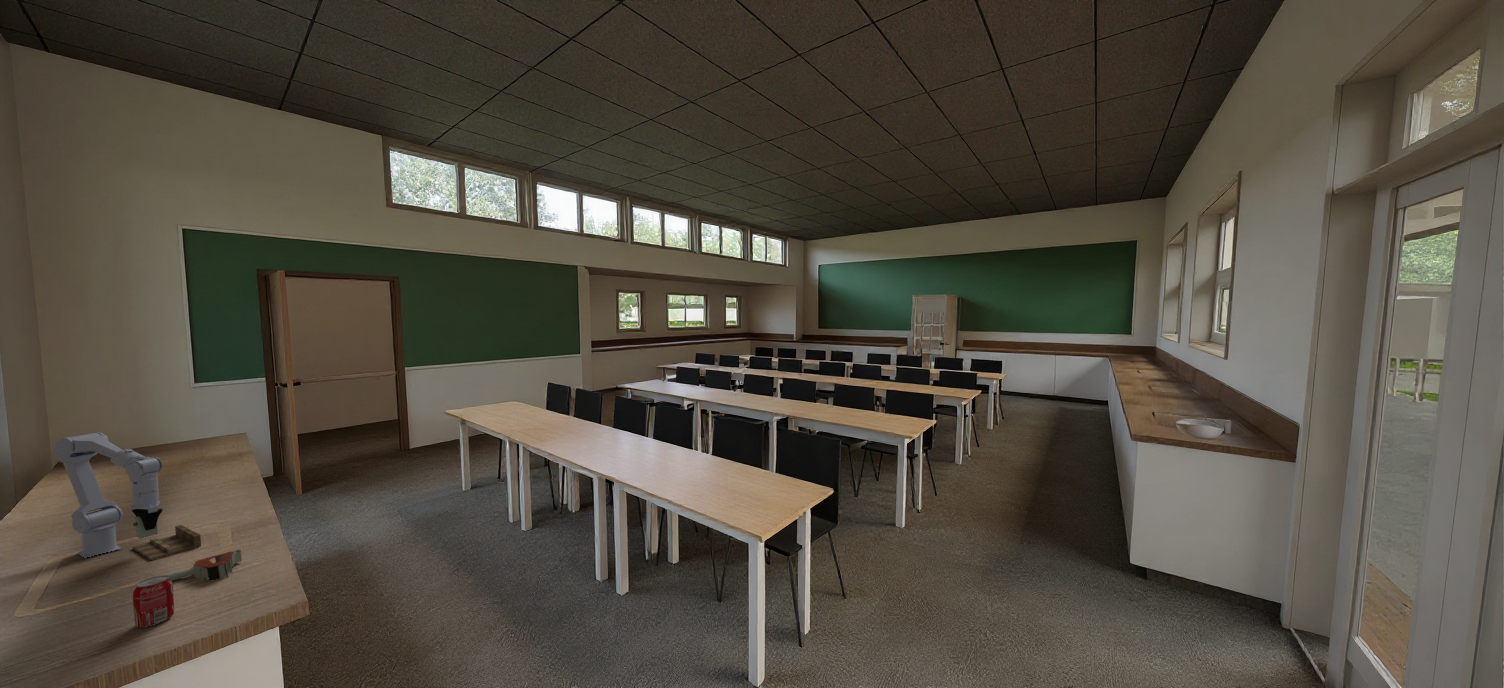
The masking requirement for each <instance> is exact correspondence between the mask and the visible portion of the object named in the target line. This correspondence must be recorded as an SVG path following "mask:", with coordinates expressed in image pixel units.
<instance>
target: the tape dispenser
mask: <svg viewBox="0 0 1504 688" xmlns="http://www.w3.org/2000/svg"><path fill="white" fill-rule="evenodd" d="M212 559H215V563H214V562H212V561H211V560H212ZM242 559H243V558H242V551H241V549H236V550H233V551H227V552H224V553H221V554H216V555H212V556H209V557H206V558H203V559H198V560H196V561H195V562H194V563H193V566H191V567H190V568H186V569H182V570H178V571H174V572H173V571H172V572H169V573H165V574H164V575H167V576H169V579H170V580H172V582H173V581H176V580H179V579H184V578H185V577H188V576H194V577H195V578H196V577H197V579H200V578H202V579H201V580H205V579H204V578H206V579H208V580H209V581H211V580H213V581H217V580H216V579H218V580H221V579H220V578H222V579H225V578H224V577H227V578H229V576H230V575H231V576H232V574H234V571H233V567H234V566H235V564H236V563H241V562H242ZM162 575H163V574H162ZM162 575H160V576H162ZM231 576H230V577H231Z"/></svg>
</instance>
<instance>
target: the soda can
mask: <svg viewBox="0 0 1504 688" xmlns="http://www.w3.org/2000/svg"><path fill="white" fill-rule="evenodd" d="M135 586H136V587H135V588H134V590H133V592H132V606H133V607H132V609H133V621H134V624H135V626H136V627H138V628H147V627H146V626H150V627H152V626H151V625H154V624H157V625H159V624H158V623H160V622H162V623H164V622H166V621H168V620H169V619H170V618H171V617H172V616H173V615H174V613H175V597H174V596H175V593H174V583H173V581H172V580H170V579H169V576H167V575H165V574H162V576H161V575H158V576H152V577H149V578H145V579H143V580H141V581H139V582H138V583H136V585H135ZM168 618H169V619H168ZM167 619H168V620H167ZM165 620H166V621H165ZM163 621H164V622H163ZM160 624H161V623H160ZM154 626H155V625H154Z"/></svg>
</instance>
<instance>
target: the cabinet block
mask: <svg viewBox="0 0 1504 688" xmlns="http://www.w3.org/2000/svg"><path fill="white" fill-rule="evenodd" d="M132 525H133V526H132V527H135V535H136V537H137V538H139V539H143V538H147V537H151V536H154V535H158V534H159V533H158V523H157V524H156V527H155V529H151V530H147V531H146V530H145V528H144V525H143V522H142V520H141V518H140V517H139V516H138V517H136V516H135V517H134V522H132Z"/></svg>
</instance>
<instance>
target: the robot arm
mask: <svg viewBox="0 0 1504 688" xmlns="http://www.w3.org/2000/svg"><path fill="white" fill-rule="evenodd" d="M53 450H54V453H55V455H56V456H57V460H58V462H59V463H63V466H64V468H65V471H66V473H67V477H68V479H69V482H70V483H71V486H72V489H73V491H74V494H75V495H76V498H77V501H78V503H79V505H80V506H79V507H78V508H77V509H76V510H75V511H74V512H72V514H71V520H72V521H71V526H72V528H73V530H74V531H76V532H78V533H80V534H81V548H82V549H81V551H77V554H78V555H80V556H81V558H83V557H84V558H83V559H88V558H87V557H90V558H92V557H91V556H93V557H95V556H94V555H97V556H99V555H98V554H101V555H103V554H102V553H105V554H107V553H106V552H108V553H112V552H115V550H116V551H119V550H121V549H122V548H121V547H120V546H119V545H117V536H116V534H117V533H116V525H118V524H119V522H120V521H121V520H122V518H123V516H124V513H123V510H122V509H121V508H120V507H119V506H118V504H117V503H116V501H113V500H109V499H108V500H107V499H105V497H104V495H103V493H102V490H101V487H100V486H99V482H98V480H97V477H96V475H95V473H94V470H93V467H92V465H91V463H90V460H91V458H92V457H94V456H96V455H97V454H100V455H102V456H105V457H107V458H110V462H111V463H112V464H114V465H116V466H118V467H120V468H122V469H124V470H125V472H126V473H125V474H127V476H128V477H129V481H130V482H131V485H132V497H133V505H131V506H128V509H129V510H131V512H132V513H133V514H134V515H135V517H138V516H139V517H140V518H141V520H142V522H143V525H144V528H145V530H146V531H147V530H151V529H155V527H156V524H157V525H158V519H159V517H160V515H161V513H162V512H163V508H162V507H161V508H158V506H159V505H160V504H161V500H160V493H159V476H158V475H159V473H158V472H160V471H162V468H163V462H162V460H161V459H160V458H158V457H157V456H145V455H143V454H140V453H139V452H137V451H134V450H133V449H132V448H126V449H121V448H120V447H118V446H117V445H115V444H114V443H112V442H110V440H109V437H108V435H106V434H104V433H102V432H100V431H97V432H93V433H87V434H81V435H74V436H69V437H61V438H58V439H57V441H56V442H55V444H54V446H53ZM111 551H112V552H111Z"/></svg>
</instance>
